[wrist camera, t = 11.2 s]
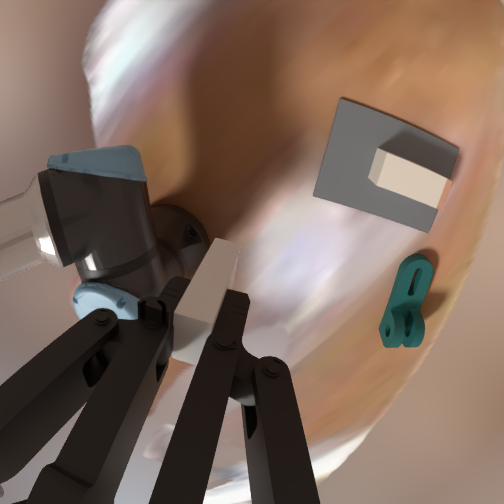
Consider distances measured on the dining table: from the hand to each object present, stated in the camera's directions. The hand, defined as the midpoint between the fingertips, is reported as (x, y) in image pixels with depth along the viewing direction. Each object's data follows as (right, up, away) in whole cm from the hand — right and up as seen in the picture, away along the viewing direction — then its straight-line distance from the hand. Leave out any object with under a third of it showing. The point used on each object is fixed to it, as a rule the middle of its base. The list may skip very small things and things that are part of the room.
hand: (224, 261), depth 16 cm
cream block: (+20, +13, +21) cm, 32 cm away
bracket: (+32, -8, +34) cm, 47 cm away
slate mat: (+23, +14, +24) cm, 36 cm away
